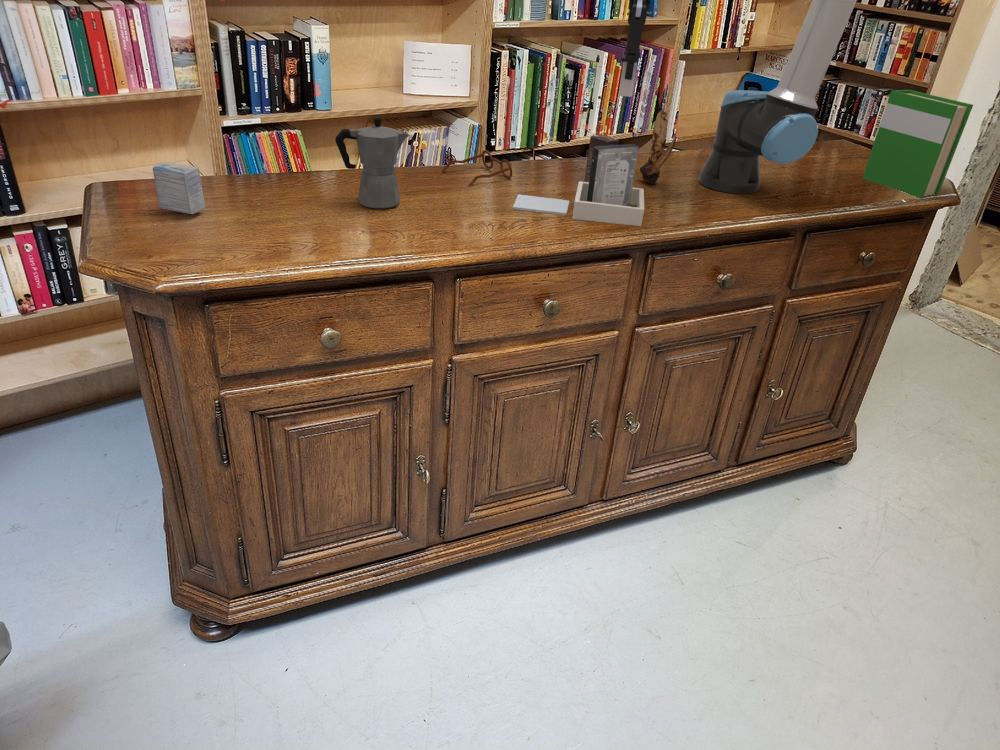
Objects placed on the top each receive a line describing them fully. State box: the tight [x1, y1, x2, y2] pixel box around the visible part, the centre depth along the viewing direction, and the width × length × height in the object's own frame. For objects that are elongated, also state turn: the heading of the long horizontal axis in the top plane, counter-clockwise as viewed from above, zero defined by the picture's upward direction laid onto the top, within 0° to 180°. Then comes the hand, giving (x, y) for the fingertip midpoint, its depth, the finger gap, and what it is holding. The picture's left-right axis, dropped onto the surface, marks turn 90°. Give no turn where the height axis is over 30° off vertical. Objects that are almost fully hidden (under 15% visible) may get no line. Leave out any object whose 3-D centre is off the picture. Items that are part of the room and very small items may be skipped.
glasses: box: [441, 149, 513, 187], centre depth 183 cm, size 13×13×5 cm
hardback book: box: [861, 89, 974, 200], centre depth 192 cm, size 18×7×24 cm, turn 30°
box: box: [583, 134, 620, 182], centre depth 180 cm, size 6×4×12 cm
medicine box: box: [152, 161, 206, 215], centre depth 149 cm, size 8×4×9 cm, turn 71°
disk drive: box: [586, 143, 639, 207], centre depth 164 cm, size 10×3×15 cm, turn 114°
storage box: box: [572, 180, 645, 227], centre depth 167 cm, size 15×15×4 cm
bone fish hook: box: [639, 110, 677, 185], centre depth 182 cm, size 9×5×18 cm, turn 14°
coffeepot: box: [334, 116, 410, 209], centre depth 158 cm, size 15×9×18 cm, turn 107°
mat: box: [512, 194, 570, 216], centre depth 168 cm, size 12×9×1 cm
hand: (625, 93), depth 154 cm, fingers open, 5 cm apart
